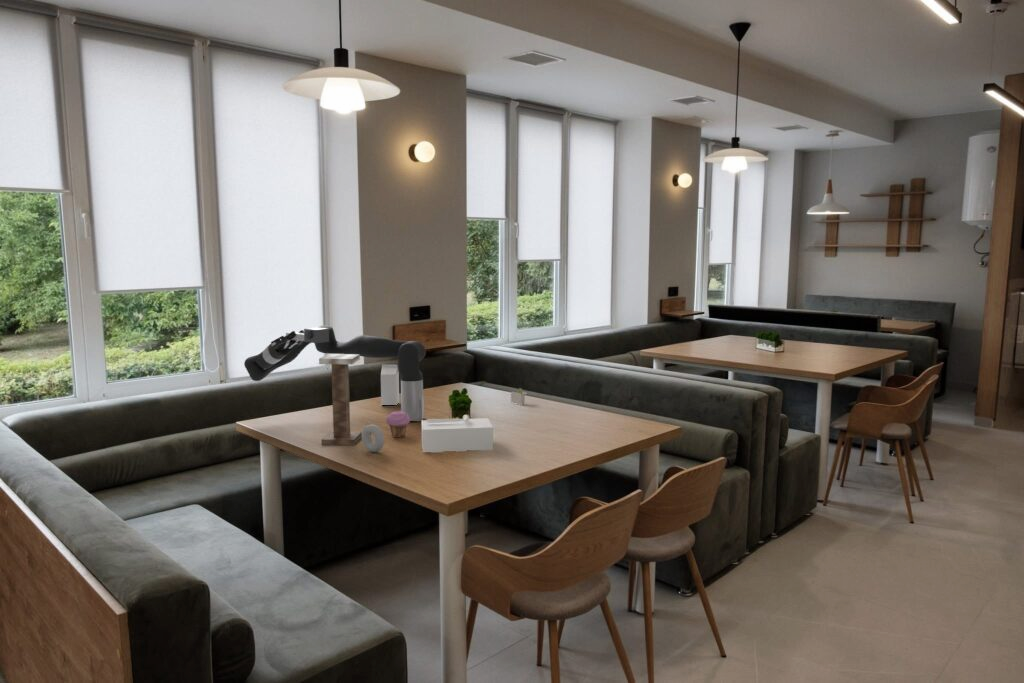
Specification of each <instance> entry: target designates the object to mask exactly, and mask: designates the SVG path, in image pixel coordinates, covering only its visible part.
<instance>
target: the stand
mask: <svg viewBox="0 0 1024 683" xmlns="http://www.w3.org/2000/svg"><path fill="white" fill-rule="evenodd" d="M360 360H361V356H360V354H330V353H327V354H325V355H324V356H322V357H319V359H318V365H331V392H332V395H331V396H332V398H331V399H332V425H333V426H332V428H333V431H329V432H328V433H327V434H326V435H325V436H324V437H322V439H321V445H322V444H333V445H332V446H355V445H356V444H357V443H358V442H359V440H360V439H362V432H363V431H351V417H350V416H351V413H350V407H351V406H350V384H349V383H350V376H349V374H350V373H349V369H350V368H349V365H354V364H356V363H357V362H358V361H360ZM356 442H357V443H356ZM355 443H356V444H355ZM354 444H355V445H354Z"/></svg>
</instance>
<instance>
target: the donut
mask: <svg viewBox="0 0 1024 683" xmlns="http://www.w3.org/2000/svg"><path fill="white" fill-rule="evenodd" d="M361 432H362V437H361V441H362V444H363V446H364V447H365V449H366V450H368V451H369V452H372V453H377V452H380V451H381V450H382V449H383V448H384V446H385V441H386V438H385V434H384V432H383V430H382V429H381V427H380V426H378V425H376V424H372V423H371V424H367V425H366V426H365V427H363V429H362V431H361ZM372 435H373V436H374V441H373V439H372Z"/></svg>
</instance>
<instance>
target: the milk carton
mask: <svg viewBox="0 0 1024 683" xmlns="http://www.w3.org/2000/svg"><path fill="white" fill-rule="evenodd" d="M380 401H381V402H380V403H381V405H397V404H398V403H399V404H400V374H399V367H398V364H381V371H380ZM399 404H398V405H399ZM398 405H397V406H398Z"/></svg>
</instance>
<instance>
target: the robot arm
mask: <svg viewBox="0 0 1024 683" xmlns="http://www.w3.org/2000/svg"><path fill="white" fill-rule="evenodd" d="M317 328H327V329H329V342H323V343H314V346H315V349H316V350H317V352H319V353H322V354H360V357H363V358H369V359H371V358H372V359H383V358H384V359H385V358H397V367H398V371H399V377H400V408H401V409H400V411H403V412H405V413H406V414H408V415H409V418H410V421H417V422H421V420H424V419H425V396H424V379H423V378H424V377H423V376H424V374H423V372H422V371H421V370H420V363H419V362H421V361H422V360H423V359H424V358H425V356H426V355H427V351H426V347H425V346H424V345H423V343H421V342H420V341H418V340H395V339H389V338H385V337H378V336H374V335H365V334H361V335H358V336H356V337H354V338H351V339H350V340H349V341H339V340H336V339H337V338H336V335H335V330H334V329H333V327H332V326H331V325H329V324H328V325H326V324H325V325H320V326H317ZM290 332H291V333H290V334H288V335H286V334H285V335H281V336H280V337H278V338H276V339H274V340H272V341H271V342H270V344H269V345H267V346H266V347H265V348H264V349H263V350H262V351H261V352H260V353H259V354H257V355H253V356H249V357H247V358H246V359H245V360H244V363H243V365H244V368H245V369H246V371H247V374H248V376H249V377H250V379H251V381H254V382H261V381H262V380H264V379H265V378H266V377H267V376H268V375H269V374H271V373H272V372H273V371H275V370H277V369H279V368H281V367H282V366H285V365H288V364H290V363H291V362H293V361H294V360H295V359H296V358H297V357H298V356H299V355H300V353H301V352H302V351H303V350H304V349H306V347H307V346H309V345H310V344H311V343H310V342H304V341H298V340H292V339H293V338H294V337H295V336H296V333H295V332H296V331H295V330H292V331H290ZM298 333H304V329H301V330H300V331H299V332H298ZM423 418H424V419H423Z"/></svg>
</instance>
